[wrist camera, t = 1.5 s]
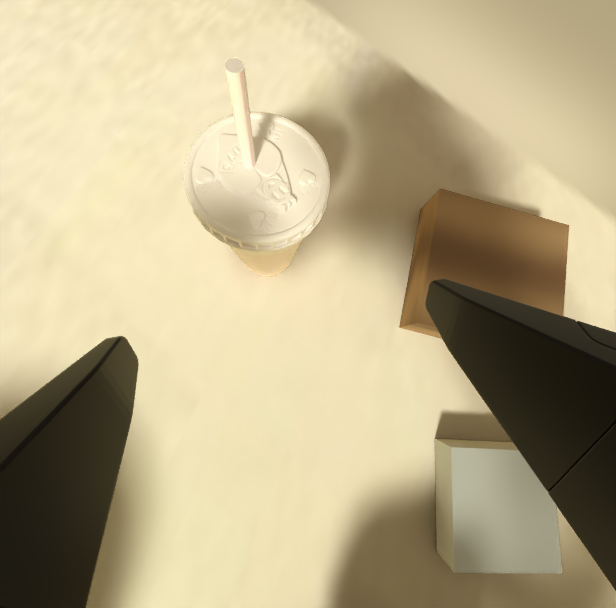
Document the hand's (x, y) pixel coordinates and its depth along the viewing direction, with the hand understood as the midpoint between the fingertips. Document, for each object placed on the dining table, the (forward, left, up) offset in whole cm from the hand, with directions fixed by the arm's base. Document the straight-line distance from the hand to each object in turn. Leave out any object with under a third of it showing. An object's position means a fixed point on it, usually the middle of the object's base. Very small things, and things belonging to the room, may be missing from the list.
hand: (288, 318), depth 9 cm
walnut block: (+8, -13, -12) cm, 20 cm away
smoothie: (+6, +3, -13) cm, 14 cm away
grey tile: (-7, -16, -12) cm, 22 cm away
